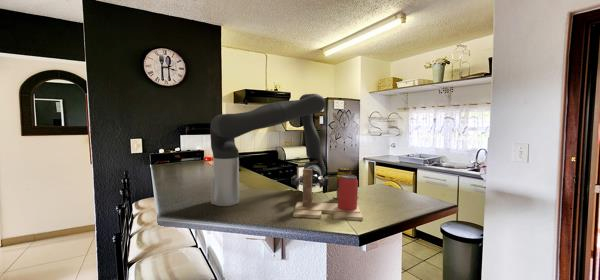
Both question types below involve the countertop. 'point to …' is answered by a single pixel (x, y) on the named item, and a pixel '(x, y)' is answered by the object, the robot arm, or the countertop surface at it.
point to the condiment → (340, 172)
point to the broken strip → (336, 215)
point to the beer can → (347, 192)
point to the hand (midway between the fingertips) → (308, 184)
